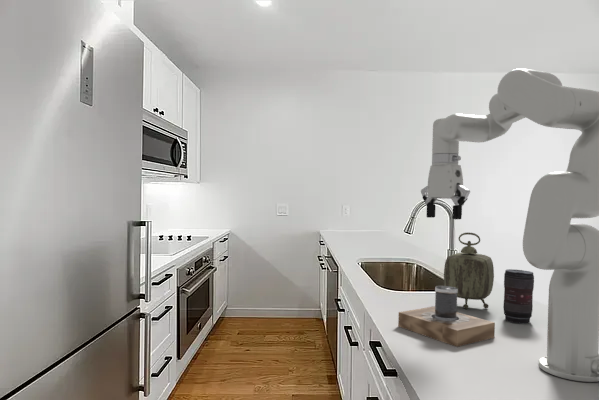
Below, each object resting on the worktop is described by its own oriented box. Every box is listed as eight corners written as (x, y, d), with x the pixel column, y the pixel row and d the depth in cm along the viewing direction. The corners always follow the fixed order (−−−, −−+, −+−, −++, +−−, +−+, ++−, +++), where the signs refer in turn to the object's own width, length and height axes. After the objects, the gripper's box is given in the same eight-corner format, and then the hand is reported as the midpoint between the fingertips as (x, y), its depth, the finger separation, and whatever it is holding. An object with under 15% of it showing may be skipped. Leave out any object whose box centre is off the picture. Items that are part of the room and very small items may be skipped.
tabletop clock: (493, 308, 156) (495, 233, 156) (487, 314, 148) (489, 235, 148) (449, 302, 164) (450, 230, 164) (441, 307, 156) (443, 232, 156)
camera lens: (536, 325, 136) (537, 274, 136) (506, 323, 138) (507, 272, 138) (528, 318, 144) (529, 269, 144) (500, 316, 146) (501, 268, 146)
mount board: (494, 337, 124) (494, 322, 123) (456, 346, 115) (457, 330, 115) (434, 319, 140) (435, 306, 140) (398, 326, 132) (398, 312, 132)
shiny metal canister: (460, 333, 127) (462, 289, 127) (446, 336, 124) (447, 291, 124) (443, 327, 132) (445, 285, 132) (429, 330, 129) (430, 287, 128)
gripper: (478, 160, 134) (476, 219, 135) (431, 162, 149) (429, 216, 149) (461, 158, 130) (459, 220, 131) (414, 161, 145) (412, 216, 145)
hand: (443, 218), depth 140 cm, fingers open, 9 cm apart
